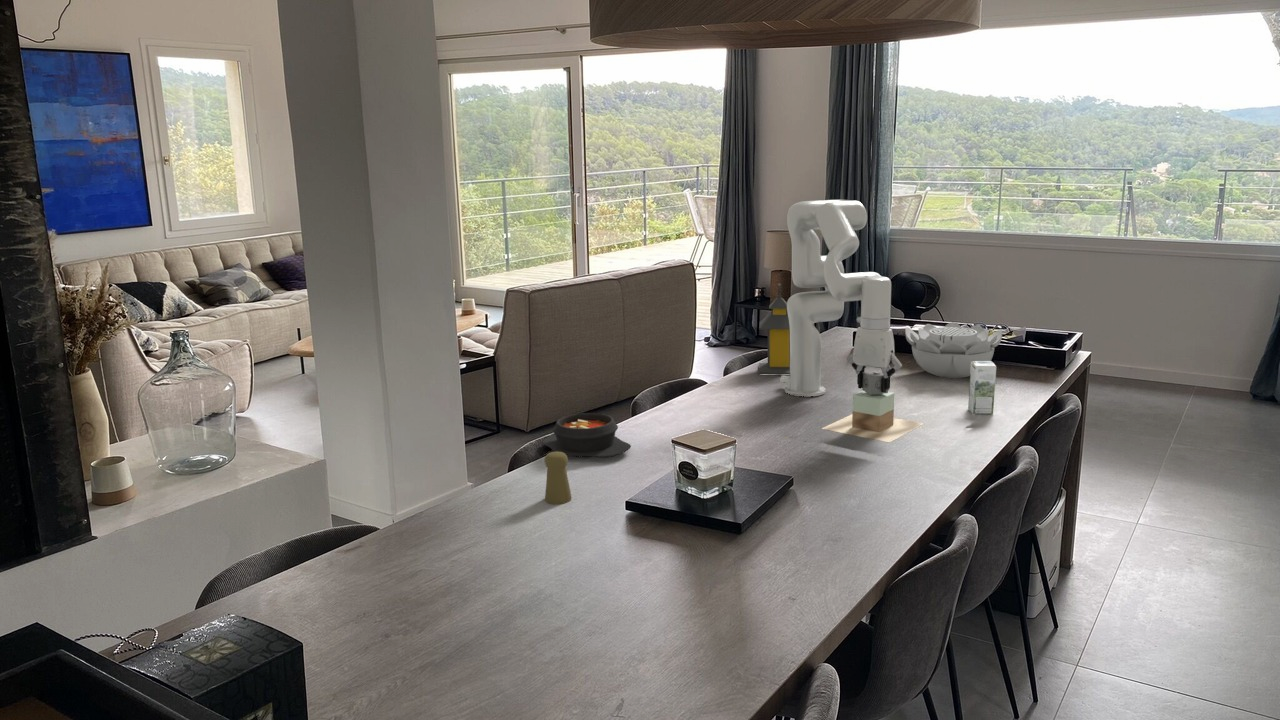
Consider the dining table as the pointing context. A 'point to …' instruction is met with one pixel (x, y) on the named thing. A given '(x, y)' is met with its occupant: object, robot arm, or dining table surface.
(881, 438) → the oak board
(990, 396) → the syrup box
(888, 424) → the walnut block
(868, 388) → the dice cube
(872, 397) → the sage block
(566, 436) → the casserole
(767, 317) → the lantern
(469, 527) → the dining table surface
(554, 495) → the olive peg figure
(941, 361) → the decorative bowl
